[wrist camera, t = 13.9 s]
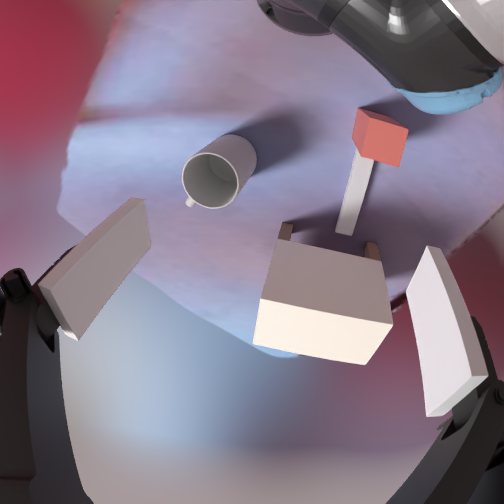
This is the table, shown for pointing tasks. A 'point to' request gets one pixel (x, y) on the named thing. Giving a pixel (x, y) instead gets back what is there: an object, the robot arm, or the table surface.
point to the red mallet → (369, 160)
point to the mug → (219, 171)
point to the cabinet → (323, 302)
